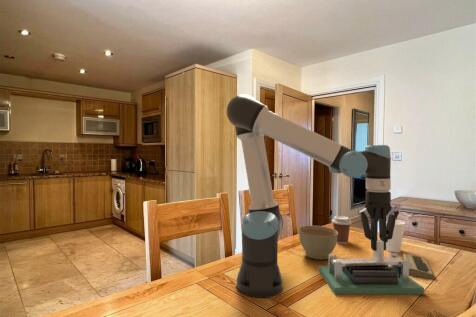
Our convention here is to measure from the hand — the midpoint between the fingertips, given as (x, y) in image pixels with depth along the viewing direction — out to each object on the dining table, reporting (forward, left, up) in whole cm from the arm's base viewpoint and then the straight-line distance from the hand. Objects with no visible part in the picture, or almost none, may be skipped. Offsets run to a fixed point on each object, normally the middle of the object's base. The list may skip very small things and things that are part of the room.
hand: (378, 259), depth 92 cm
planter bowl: (-14, +23, -8) cm, 28 cm away
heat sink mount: (-4, 0, -8) cm, 9 cm away
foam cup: (+22, +30, -8) cm, 38 cm away
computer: (+20, +11, -9) cm, 25 cm away
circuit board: (-4, 0, -8) cm, 9 cm away
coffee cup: (+3, +41, -8) cm, 42 cm away
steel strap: (-4, 0, -2) cm, 4 cm away
